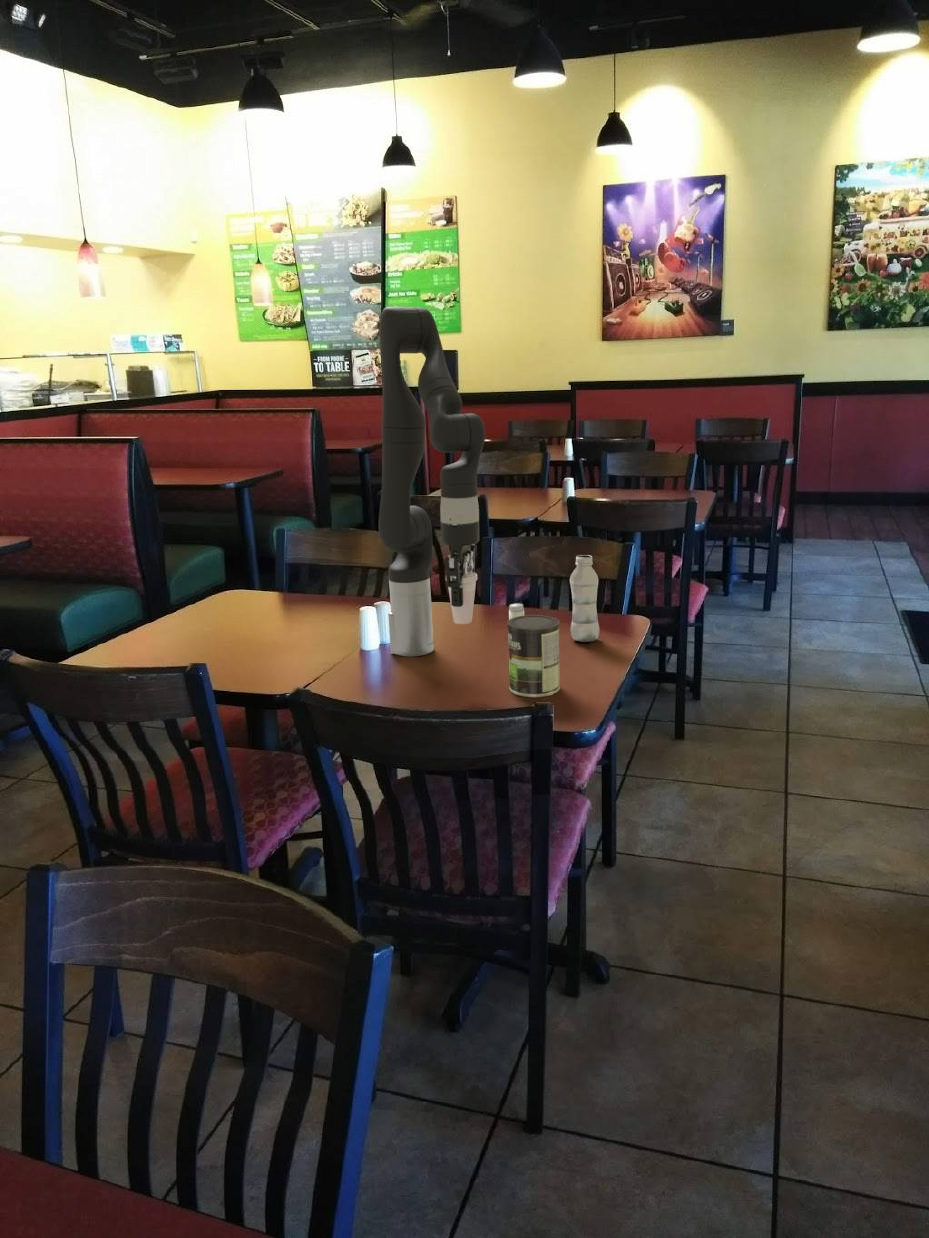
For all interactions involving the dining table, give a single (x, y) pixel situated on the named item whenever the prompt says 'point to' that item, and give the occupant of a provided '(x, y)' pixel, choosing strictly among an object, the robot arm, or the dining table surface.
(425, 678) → the dining table surface
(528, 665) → the coffee can
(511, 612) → the salt shaker
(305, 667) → the dining table surface
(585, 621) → the plastic bottle
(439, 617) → the dining table surface
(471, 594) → the smoothie
